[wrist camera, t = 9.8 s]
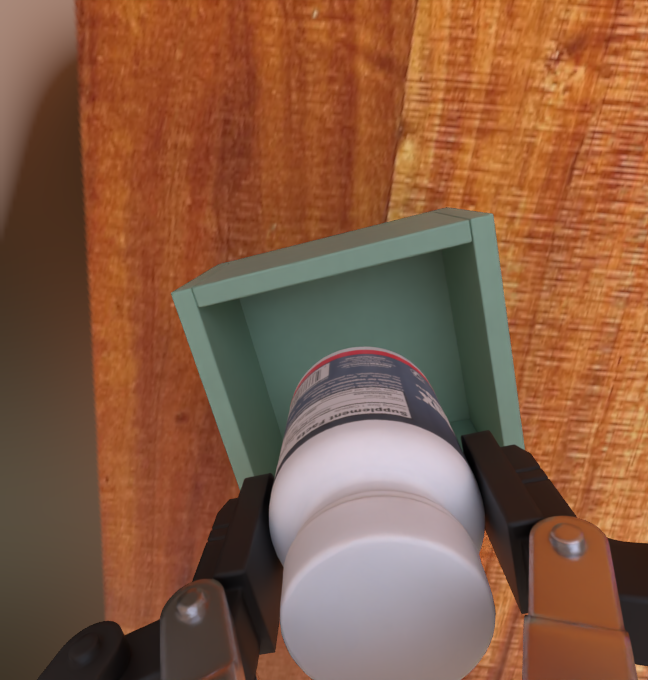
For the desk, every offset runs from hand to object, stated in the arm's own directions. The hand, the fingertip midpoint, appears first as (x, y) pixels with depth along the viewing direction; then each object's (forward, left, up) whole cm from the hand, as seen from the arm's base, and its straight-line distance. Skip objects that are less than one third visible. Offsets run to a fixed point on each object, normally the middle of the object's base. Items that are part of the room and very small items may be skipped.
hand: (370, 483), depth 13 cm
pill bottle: (0, 0, -5) cm, 5 cm away
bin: (0, 0, -12) cm, 12 cm away
